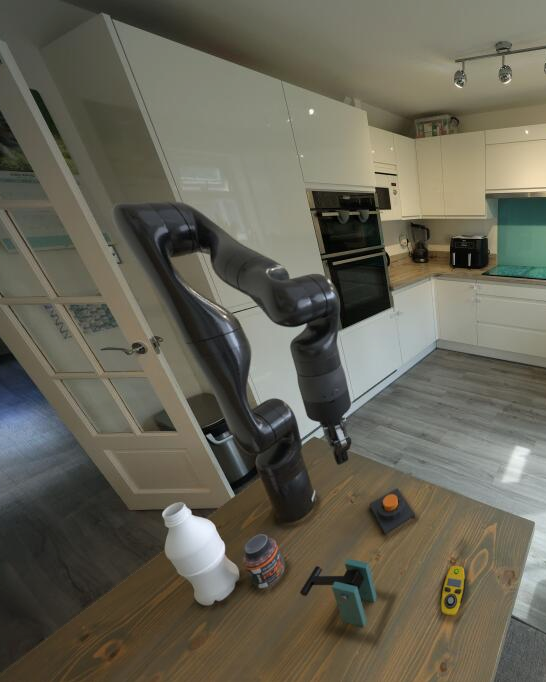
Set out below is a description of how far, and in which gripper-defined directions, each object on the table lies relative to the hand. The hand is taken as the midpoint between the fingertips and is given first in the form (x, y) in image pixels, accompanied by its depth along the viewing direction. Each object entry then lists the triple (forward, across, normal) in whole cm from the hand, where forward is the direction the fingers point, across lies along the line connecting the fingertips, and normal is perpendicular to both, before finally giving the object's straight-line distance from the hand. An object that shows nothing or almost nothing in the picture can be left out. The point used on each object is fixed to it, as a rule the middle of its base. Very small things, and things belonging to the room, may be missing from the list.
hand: (342, 460), depth 63 cm
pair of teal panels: (+27, +13, -5) cm, 30 cm away
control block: (+27, -3, +9) cm, 29 cm away
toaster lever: (+19, +10, -8) cm, 23 cm away
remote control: (+27, +20, +13) cm, 36 cm away
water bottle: (+27, -9, -26) cm, 39 cm away
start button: (+23, -3, +9) cm, 25 cm away
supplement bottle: (+27, -6, -18) cm, 33 cm away
